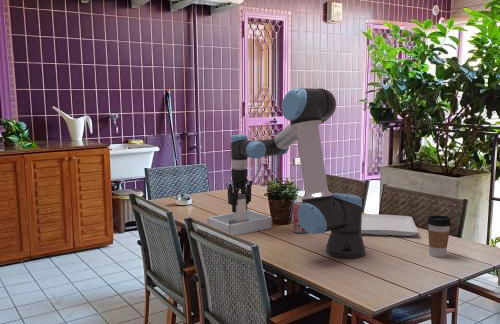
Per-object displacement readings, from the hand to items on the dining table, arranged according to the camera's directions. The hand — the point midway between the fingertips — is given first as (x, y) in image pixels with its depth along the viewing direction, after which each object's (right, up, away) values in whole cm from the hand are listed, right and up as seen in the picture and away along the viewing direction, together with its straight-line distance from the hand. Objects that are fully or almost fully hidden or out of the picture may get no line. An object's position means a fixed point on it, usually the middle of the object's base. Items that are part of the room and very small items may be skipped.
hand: (239, 218), depth 225 cm
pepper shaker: (0, -3, 0) cm, 3 cm away
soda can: (+28, -6, -6) cm, 29 cm away
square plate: (+66, -5, -2) cm, 66 cm away
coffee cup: (+77, -10, -39) cm, 86 cm away
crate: (0, -5, +1) cm, 5 cm away
